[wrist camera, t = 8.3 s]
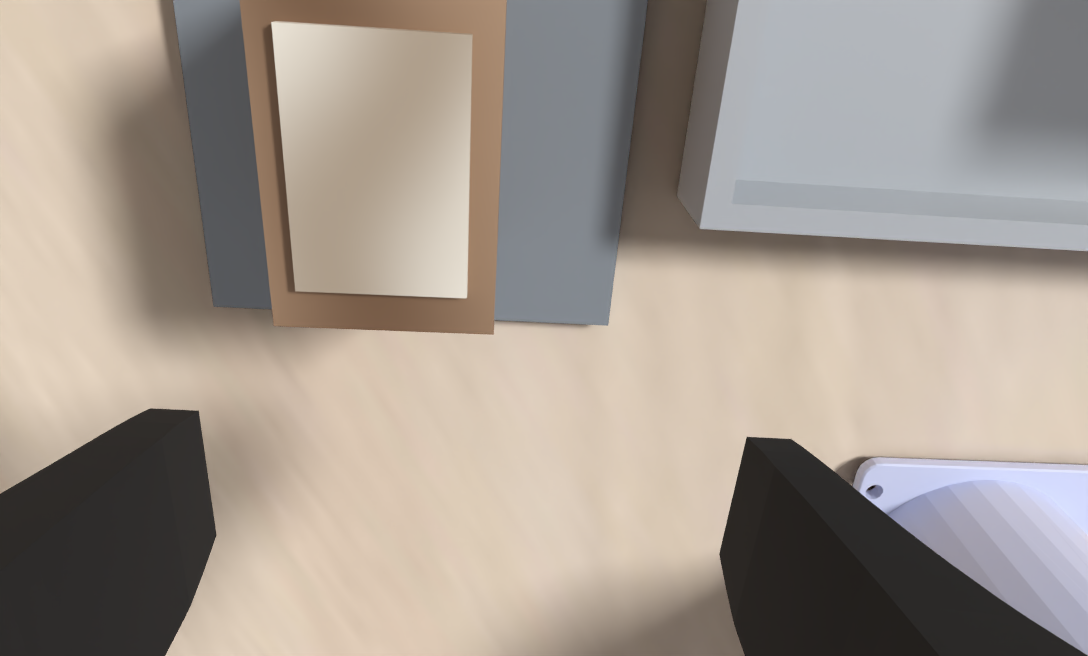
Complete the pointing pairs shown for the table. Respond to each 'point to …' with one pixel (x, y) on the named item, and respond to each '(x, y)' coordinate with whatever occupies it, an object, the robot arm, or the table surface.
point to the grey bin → (892, 121)
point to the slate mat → (526, 154)
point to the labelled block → (378, 159)
